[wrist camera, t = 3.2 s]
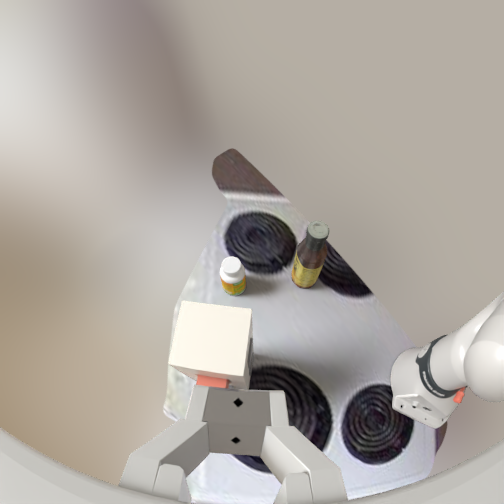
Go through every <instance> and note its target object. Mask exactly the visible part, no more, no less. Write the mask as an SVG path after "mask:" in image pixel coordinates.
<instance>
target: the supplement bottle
mask: <svg viewBox="0 0 504 504" xmlns="http://www.w3.org/2000/svg"><path fill="white" fill-rule="evenodd" d="M220 277H221V281H222V286H223V289H224V291H225V292H226V293H227V294H229V295H232V296H237V295H240V294H241V293H243V291H244V290H245V288H246V278H245V268H244V266H243V265H242V264H241V262H240V260H239V259H238V258H236V257H227V258H225V259H224V260H223V262H222V267H221V269H220Z"/></svg>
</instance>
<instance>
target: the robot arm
mask: <svg viewBox="0 0 504 504" xmlns="http://www.w3.org/2000/svg"><path fill="white" fill-rule="evenodd" d="M467 386H469V388H470V389H471V390H472V392H473V393H474V394H475V395H476V396H478V397H479V398H481V399H483V400H485V401H489V402H501V401H504V292H503V293H502V294H501V295H499V296H498V297H497V298H496V299H495V300H494V301H492V302H491V303H490V304H489V305H488V306H487V307H485V308H484V309H483V310H482V311H481V312H479V313H478V314H477V315H476V316H475V317H473V318H472V319H471V320H470V321H469V322H467V323H466V324H465V325H463V326H461V327H460V328H458V329H457V330H455V331H453V332H452V333H450V334H448V335H444V336H441V337H440V338H437V339H436V340H434V341H432V342H430V343H429V344H427V345H426V346H424V347H419V348H411V349H408V350H406V351H404V352H403V353H401V354H400V355H399V356H398V358H397V359H396V361H395V362H394V365H393V367H392V371H391V387H392V391H393V401H392V407H393V409H394V410H396V411H398V412H400V413H402V414H404V415H406V416H408V417H410V418H412V419H414V420H416V421H418V422H420V423H422V424H425V425H427V426H429V427H431V428H433V429H436V428H438V427H440V426H441V425H443V424H444V423H445V422H446V421H447V420H448V418H449V417H450V416H451V414H452V413H453V411H454V410H455V409H456V407H457V406H458V404H459V403H461V401H462V398H463V396H464V392H465V389H466V387H467ZM401 405H402V408H401ZM442 419H443V421H442ZM209 452H211V453H225V454H240V455H256V456H260V457H261V458H262V460H263V461H264V462H265V464H266V465H267V466H268V468H269V469H270V470H271V472H272V473H273V474H274V476H275V477H276V478H277V479H278V481H279V482H280V483H281V484H282V486H281V488H280V490H279V492H278V494H277V496H276V499H275V501H274V503H273V504H504V439H503V440H501V441H500V442H498V443H497V444H495V445H493V446H492V447H490V448H489V449H486V450H485V451H483V452H481V453H479V454H478V455H476V456H474V457H472V458H470V459H468V460H466V461H464V462H462V463H460V464H458V465H456V466H454V467H452V468H450V469H447V470H445V471H443V472H441V473H438V474H436V475H433V476H431V477H428V478H426V479H423V480H420V481H417V482H415V483H412V484H409V485H406V486H403V487H400V488H396V489H393V490H390V491H386V492H382V493H379V494H375V495H371V496H366V497H362V498H357V499H352V500H348V498H347V494H346V490H345V486H344V482H343V478H342V473H341V469H340V467H339V466H337V465H336V464H335V463H334V462H333V461H331V460H330V459H329V458H328V457H327V456H326V455H325V454H323V453H322V452H321V451H320V450H319V449H318V448H317V447H316V446H315V445H313V444H312V443H311V442H310V441H309V440H308V439H307V438H306V437H305V436H304V435H303V434H302V433H300V432H299V431H298V430H297V429H296V428H295V427H294V426H289V420H288V412H287V405H286V398H285V392H284V391H282V390H269V391H268V390H244V389H229V388H220V387H212V386H210V387H209V386H202V385H194V386H193V389H192V393H191V397H190V401H189V405H188V409H187V413H186V417H185V419H179V420H178V421H177V422H175V423H174V424H173V425H171V426H170V427H168V428H167V429H166V430H164V431H163V432H162V433H160V434H159V435H157V436H156V437H154V438H153V439H152V440H150V441H149V442H147V443H146V444H144V445H143V446H141V447H140V448H138V449H137V450H135V451H134V452H132V453H131V454H130V456H129V459H128V461H127V464H126V466H125V469H124V472H123V475H122V477H121V480H120V483H119V486H117V485H114V484H111V483H108V482H105V481H103V480H100V479H97V478H94V477H92V476H89V475H87V474H84V473H82V472H80V471H77V470H75V469H73V468H71V467H68V466H66V465H64V464H62V463H60V462H58V461H56V460H54V459H52V458H50V457H48V456H46V455H44V454H43V453H41V452H39V451H37V450H35V449H34V448H32V447H30V446H28V445H27V444H25V443H23V442H22V441H20V440H19V439H17V438H16V437H14V436H12V435H11V434H9V433H8V432H6V431H5V430H3V429H2V428H1V427H0V504H194V503H191V495H190V492H189V488H188V485H187V481H186V477H187V476H188V475H189V474H190V473H191V472H192V471H193V470H194V469H195V468H196V467H197V466H198V465H199V464H200V463H201V462H202V461H203V460H204V459H205V458H206V457H207V456H208V455H209Z"/></svg>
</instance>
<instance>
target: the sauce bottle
mask: <svg viewBox="0 0 504 504" xmlns="http://www.w3.org/2000/svg"><path fill="white" fill-rule="evenodd" d="M306 233H307V236H306V238H305V239H304V240H303V241H302V242H301V243H300V244H299V245H298V247H297V250H296V255H295V260H294V264H293V269H292V281H293V282H294V283H295V284H296V285H297V286H298V287H300V288H310V287H311V286H313V285H314V283H315V282H316V281H317V278H318V276H319V274H320V271H321V269H322V266H323V264H324V261H325V258H326V255H327V247H326V245H325V240H326V239H327V237H328V235H329V228H328V226H327V225H326V224H325V223H323V222H321V221H314V222H311V223H310V224H309V225H308V228H307V232H306Z"/></svg>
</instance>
